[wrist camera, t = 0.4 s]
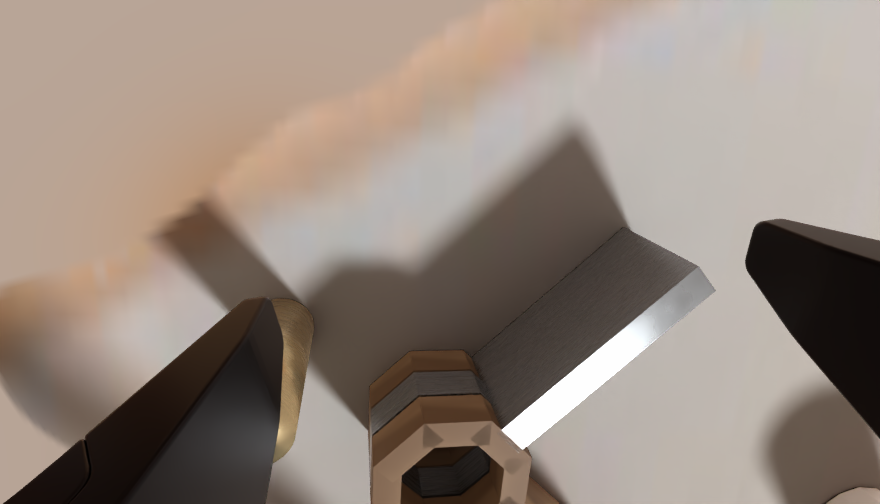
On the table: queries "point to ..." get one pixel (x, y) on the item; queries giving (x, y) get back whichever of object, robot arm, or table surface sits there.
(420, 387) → the slate leaf
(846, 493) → the white cup
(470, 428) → the tan hinge leaf
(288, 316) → the brass pin
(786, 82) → the table surface
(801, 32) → the table surface
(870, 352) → the robot arm
